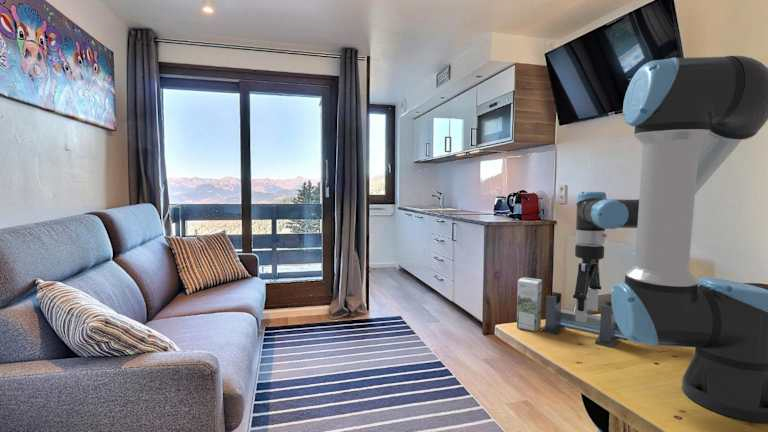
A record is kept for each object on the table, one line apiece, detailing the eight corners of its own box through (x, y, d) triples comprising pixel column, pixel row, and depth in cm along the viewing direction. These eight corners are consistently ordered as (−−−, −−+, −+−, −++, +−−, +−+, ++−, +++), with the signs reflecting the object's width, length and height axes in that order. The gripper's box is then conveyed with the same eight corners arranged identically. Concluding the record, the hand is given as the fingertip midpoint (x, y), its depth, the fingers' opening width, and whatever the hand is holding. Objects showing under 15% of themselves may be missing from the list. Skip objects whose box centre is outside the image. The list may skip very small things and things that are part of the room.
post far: (557, 334, 111) (558, 298, 110) (541, 331, 114) (542, 295, 113) (564, 328, 116) (565, 293, 115) (548, 324, 119) (550, 290, 118)
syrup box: (541, 326, 117) (542, 278, 116) (536, 332, 112) (537, 282, 111) (521, 323, 120) (522, 276, 119) (515, 328, 116) (517, 280, 115)
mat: (625, 339, 107) (625, 337, 107) (545, 322, 121) (545, 321, 121) (629, 331, 113) (629, 329, 113) (553, 316, 127) (553, 314, 127)
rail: (624, 335, 109) (624, 324, 109) (549, 319, 122) (549, 310, 122) (626, 331, 112) (627, 321, 112) (553, 316, 125) (553, 307, 124)
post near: (613, 347, 102) (615, 308, 101) (595, 343, 105) (596, 305, 104) (618, 339, 107) (620, 302, 106) (600, 335, 110) (602, 299, 109)
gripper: (594, 250, 103) (590, 329, 105) (612, 241, 122) (609, 308, 124) (563, 248, 108) (561, 323, 110) (586, 239, 127) (583, 303, 129)
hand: (586, 315), depth 117 cm, fingers open, 13 cm apart
